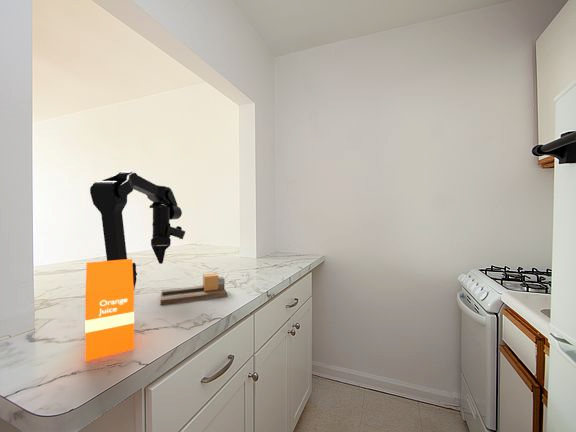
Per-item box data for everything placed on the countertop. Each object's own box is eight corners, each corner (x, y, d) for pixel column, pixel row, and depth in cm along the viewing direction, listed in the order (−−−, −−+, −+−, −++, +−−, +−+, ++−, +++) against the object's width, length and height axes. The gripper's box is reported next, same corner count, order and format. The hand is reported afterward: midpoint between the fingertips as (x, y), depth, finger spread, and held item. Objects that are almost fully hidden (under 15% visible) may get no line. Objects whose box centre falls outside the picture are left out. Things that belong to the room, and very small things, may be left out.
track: (226, 296, 96) (227, 281, 96) (160, 304, 87) (160, 288, 87) (220, 287, 107) (220, 274, 107) (160, 294, 97) (160, 279, 97)
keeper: (218, 289, 98) (218, 275, 98) (204, 291, 96) (204, 277, 96) (216, 286, 102) (216, 273, 102) (202, 287, 100) (202, 274, 100)
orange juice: (87, 345, 60) (86, 259, 60) (131, 335, 66) (131, 256, 65) (85, 362, 54) (84, 265, 54) (134, 349, 59) (134, 261, 59)
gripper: (185, 221, 94) (185, 264, 94) (182, 219, 111) (182, 255, 111) (150, 221, 89) (150, 266, 89) (153, 219, 106) (152, 257, 106)
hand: (161, 261), depth 99 cm, fingers open, 9 cm apart
